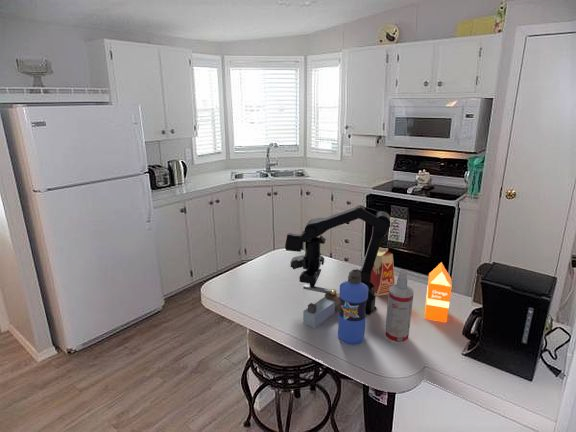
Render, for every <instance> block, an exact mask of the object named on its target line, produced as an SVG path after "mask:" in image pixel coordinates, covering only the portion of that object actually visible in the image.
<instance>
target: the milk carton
mask: <svg viewBox="0 0 576 432" xmlns="http://www.w3.org/2000/svg"><path fill="white" fill-rule="evenodd" d="M394 267H395V265H394V254H393V252H390V251H389V248H387V247H385V248H384V247H381V246H380V247H379V250H378V253H377V256H376V260H375V263H374V266H373V269H372V272H371V280H370V282H371V283H372V284H373V285H374V286H375V296H376V297H378V296H384V295H385V296H386V295H389V287H390V286H392V285H396V281H395V278H396V277H395V268H394Z"/></svg>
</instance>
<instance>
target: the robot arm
mask: <svg viewBox="0 0 576 432" xmlns="http://www.w3.org/2000/svg"><path fill="white" fill-rule="evenodd" d="M390 217H391V216H390V214H389V213H388V212H386V211H384V210H383V211H382V210H380V211H378V210H376V209H374V208H369V207H366V206H364V205H356V206H355V207H352V208H350V209H347V210H343V211H342V212H339V213H335V214H333V215H331V216H328V217H317V218H312V219H310V220H308V222H307V223H306V226H305V227H304V230H303V231H302V232H301V234H299V233H291V232H288V233H287V234H286V241H285V245H284V249H285V251H288V252H299V253H300V252H302V250H304V252H305V253H304V255H303V254H302V255H299V256H294V257H292V258H291V261H290V265H289V266H290V268H292V270H296V269H301V268H302V270H303V271H302V272H301V273H300V275H299V281H298V282H300V283H305V284H309V285H311V286H316V283H317V282H318V280H319V277H320V274H321V272H322V269H320V268H321V266H323V265H324V264H325V257H324V256H323V255H322V252H321V245H324V244H325V243H326V240H327V239H326V238H325V237H324V236H323V234H325V233H326V232H327V231H328V230H331V229H333V228H336V227H339V226H342V225H344V224H346V223H350V222H353V221H356V220H358V219H359V220H361V221H363V222H365V223H367V224H368V225H369V226H372V231H371V237H370V241H369V244H368V247H367V250H366V254H365V256H364V259H363V263H362V266H361V268H359V269H358V268H356V269H355V270H358V271H359V272H360V273H361V275H360V276H361V282H362V283H364V284H365V285H367V286H368V299H367V302H366V306H365V313H366V316H367V315H369V316H370V315H371V314H372V313H373V312H375V310H377V309H378V308H377V306H376V297H377V296H376V295H375V286H374V285H373V284H372V283H371V282H370V280H371V272H372V269H373V266H374V263H375V260H376V256H377V253H378V250H379V247H380V248H381V243H382V241H383V239H384V237H385V236H386V235H387V233H388V231H389V230H390V228H391V218H390Z"/></svg>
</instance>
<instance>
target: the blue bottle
mask: <svg viewBox="0 0 576 432" xmlns="http://www.w3.org/2000/svg"><path fill="white" fill-rule="evenodd" d="M358 270H359V269H358ZM358 270H356V269H352V270H350V271H349V272H348V276H347V281H343V282H341V283H340V285H339V293H338V294H339V296H340V304H341V306H340V310H338V322H337V324H338V325H337V339H338V341H340V342H341V343H342V344H346V345H351V346H355V345H356V346H357V345H360V344H362V343H363V342H364V340H365V334H366V321H367V320H366V319H367V318H366V317H367V314H366V313H365V306H366V302H367V299H368V286H367V285H365V284H364V283H362V282H361V276H360V275H361V273H360V272H359V271H358Z"/></svg>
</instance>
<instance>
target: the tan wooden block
mask: <svg viewBox="0 0 576 432" xmlns="http://www.w3.org/2000/svg"><path fill="white" fill-rule="evenodd" d="M324 297H325V298H327V299H330V300H332V301H335V313H337V312H339V311H340V306H341V304H340V296H339V293H337V292H336V296H331V295H330V294H326V293H324ZM335 313H334V314H335Z"/></svg>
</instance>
